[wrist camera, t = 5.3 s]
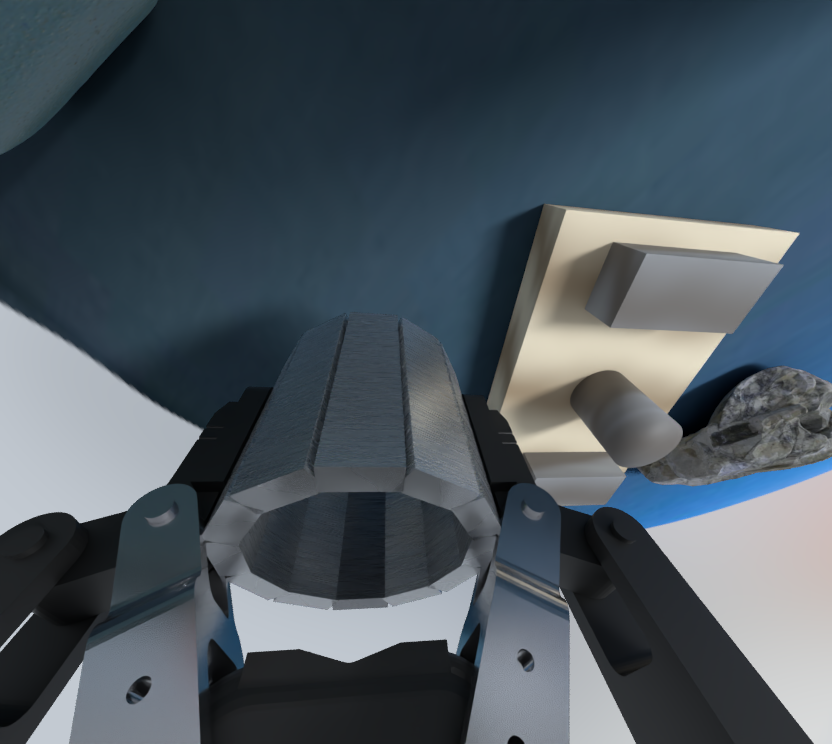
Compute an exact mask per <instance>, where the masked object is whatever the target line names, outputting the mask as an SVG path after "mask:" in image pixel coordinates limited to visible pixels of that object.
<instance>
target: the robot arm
mask: <svg viewBox="0 0 832 744" xmlns="http://www.w3.org/2000/svg"><path fill="white" fill-rule="evenodd" d="M272 390H273V387H248V388H246V390H245V391H244V393H243V395H242V396H241V398H240V400H239V401H238V402H229V403H227V404H226V405H225V406H223V407H222V408H221V409H219V410H218V411H217V412H216V413H215V414H214V415H213V417H212V418H211V420H210V421H209V423H208V424H207V427H206V429H204V430H203V432H202V433H201V435H200V436H199V440H197V441H196V442H195V444H194V446H193V447H192V448H191V450H190V451H189V453H188V454H187V456H186V457H185V459H184V460H183V462H182V463H181V465H180V466H179V468H178V469H177V471H176V473H175V474H174V475H173V477H172V478H171V480H170V481H169V483H168V484H167V485H166V486H162V487H160V488H157V489H155V490H153V491H151V492H149V493H147V494H146V495H144V496H143V497H141V498H140V499H138V500H137V501H136V502H135V503H134V504H133V505H132V506H131V507H130V508H129V510H128V511H125V512H122V513H119V514H114V515H111V516H107V517H103V518H99V519H96V520H92V521H88V522H84V523H79V522H78V521H77V520H76V519H75V518H74V517H73V516H71V515H70V514H67V513H62V512H56V513H48V514H44V515H40V516H37V517H34V518H32V519H29V520H27V521H24V522H22V523H20V524H18V525H16V526H15V527H13V528H11V529H10V530H8V531H7V532H5V533H4V534H2V535H1V536H0V647H1V646H2V645H3V644H4V643H5V642H6V640H7V639H8V638H9V637H10V636H11V635H12V634H13V632H14V631H15V630H16V629H17V628H18V627H19V626H20V625H21V623H22V622H23V621H24V620H25V619H26V618H27V617H28V615H29V614H30V613H31V612H33V613H34V614H33V615H32V617H31V618H30V619H29V620H28V621H27V622H26V623H25V624H24V626H23V627H22V628H21V629H20V630H19V631H18V633H17V634H16V635H15V636H14V637H13V638H12V639H11V641H10V642H9V643H8V644H7V645H6V646H5V647H4V649H3V650H2V651H1V652H0V744H26V742H27V741H28V739H29V738H30V736H31V735H32V733H33V732H34V730H35V729H36V728H37V726H38V725H39V723H40V722H41V720H42V719H43V718H44V716H45V715H46V713H47V712H48V710H49V709H50V707H51V706H52V705H53V703H54V702H55V700H56V699H57V697H58V696H59V694H60V693H61V692H62V690H63V689H64V687H65V686H66V684H67V683H68V681H69V680H70V678H71V677H72V676H73V674H74V673H75V671H76V670H77V668H78V667H79V665H80V664H81V663H82V661H83V665H82V671H81V677H80V683H79V689H78V695H77V700H76V706H75V712H74V718H73V724H72V730H71V736H70V742H69V744H569V661H570V659H569V658H570V655H569V652H570V649H569V648H570V645H569V644H570V643H569V642H570V639H569V638H570V637H569V635H570V633H569V632H570V631H569V630H570V625H569V623H570V620H569V609H568V605H569V607H570V609H571V611H572V613H573V615H574V617H575V619H576V621H577V624H578V625H579V627H580V630H581V631H582V634H583V636H584V638H585V640H586V642H587V644H588V646H589V648H590V650H591V652H592V654H593V656H594V658H595V660H596V662H597V664H598V666H599V668H600V671H601V673H602V675H603V677H604V679H605V681H606V683H607V685H608V687H609V689H610V691H611V693H612V695H613V697H614V699H615V701H616V703H617V705H618V707H619V709H620V711H621V713H622V716H623V717H624V720H625V721H626V724H627V726H628V728H629V730H630V732H631V734H632V736H633V738H634V740H635V742H636V744H814V743H813V742H812V741H811V740H810V738H809V737H808V736H807V735H806V733H805V732H804V731H803V729H802V728H801V727H800V726H799V724H798V723H797V722H796V720H795V719H794V718H793V717H792V715H791V714H790V713H789V712H788V710H787V709H786V708H785V707H784V705H783V704H782V703H781V701H780V700H779V699H778V698H777V696H776V695H775V694H774V693H773V691H772V690H771V689H770V688H769V686H768V685H767V684H766V682H765V681H764V680H763V679H762V677H761V676H760V675H759V673H758V672H757V671H756V670H755V668H754V667H753V666H752V665H751V663H750V662H749V661H748V660H747V658H746V657H745V656H744V654H743V653H742V652H741V651H740V649H739V648H738V647H737V646H736V644H735V643H734V642H733V640H732V639H731V638H730V637H729V635H728V634H727V633H726V632H725V630H724V629H723V628H722V626H721V625H720V624H719V623H718V621H717V620H716V619H715V618H714V616H713V615H712V614H711V613H710V612H709V610H708V609H707V607H706V606H705V605H704V604H703V602H702V601H701V600H700V599H699V597H698V596H697V595H696V594H695V592H694V591H693V590H692V588H691V587H690V586H689V585H688V583H687V582H686V581H685V579H684V578H683V577H682V576H681V574H680V573H679V572H678V571H677V569H676V568H675V567H674V565H673V564H672V563H671V562H670V561H669V559H668V558H667V557H666V555H665V554H664V553H663V552H662V551H661V549H660V548H659V546H658V545H657V544H656V543H655V541H654V540H653V539H652V538H651V536H650V535H649V534H648V532H647V531H646V530H645V529H644V528H643V526H642V525H641V524H640V523H639V522H638V521H637V520H635V519H634V518H633V517H632V516H630V515H629V514H627V513H625V512H623V511H621V510H619V509H616V508H612V507H603V508H600V509H598V510H597V511H596V512H595V513H594V514H593V515H592V516H591V515H588V514H584V513H581V512H578V511H574V510H571V509H568V508H565V507H562V506H560V505H558V504H557V503H556V501H555V500H554V498H553V497H552V496H551V495H550V494H549V493H548V492H546V491H545V490H544V489H542V488H541V487H538V486H537V485H536V483H535V481H534V479H533V477H532V475H531V473H530V470H529V468H528V466H527V464H526V461H525V459H524V457H523V455H522V452H521V450H520V448H519V446H518V445H517V441H516V439H515V437H514V435H513V434H512V430H511V428H510V426H509V423H508V421H507V420H506V419H505V418H504V417H503V416H502V415H501V414H500V413H499V412H498V410H489V408H488V406H487V403H486V400H485V398H484V396H483V395H464V394H462V397H463V401H464V404H465V407H466V410H467V414H468V417H469V420H470V423H471V427H472V430H473V433H474V436H475V440H476V443H477V446H478V450H479V453H480V456H481V459H482V463H483V466H484V469H485V472H486V476H487V479H488V482H489V485H490V488H491V492H492V495H493V498H494V502H495V505H496V508H497V511H498V515H499V518H500V521H501V528H500V530H499V532H498V534H497V535H496V540H495V545H494V550H493V555H492V559H491V561H490V563H489V565H488V566H484V567H480V570H479V572H478V574H477V578H476V582H475V586H474V590H473V595H472V599H471V603H470V607H469V611H468V614H467V617H466V620H465V623H464V626H463V629H462V633H461V636H460V640H459V644H458V648H457V652H456V654H453V653H449V652H448V647H447V640H435V641H434V640H433V641H418V642H404V643H399V644H396V645H394V646H391V647H389V648H387V649H384V650H382V651H380V652H378V653H375V654H372V655H370V656H367V657H365V658H363V659H360V660H358V661H355V662H352V663H345V662H341V661H338V660H334V659H331V658H328V657H324V656H321V655H317V654H314V653H311V652H307V651H303V650H300V649H296V650H281V651H266V652H250V653H247V657H246V660H245V664H244V660H243V653H242V648H241V644H240V640H239V636H238V633H237V630H236V626H235V621H234V614H233V606H232V598H231V590H230V582H228V580H227V578H226V576H219V575H218V573H217V571H216V570H215V568H214V566H213V565H212V563H211V561H210V560H209V558H208V556H207V549H206V540H204V539H203V537H202V533H203V531H204V529H205V527H206V524H207V522H208V520H209V518H210V516H211V514H212V512H213V510H214V508H215V506H216V504H217V502H218V500H219V498H220V496H221V494H222V492H223V490H224V488H225V486H226V484H227V482H228V480H229V478H230V476H231V473H232V471H233V469H234V467H235V465H236V463H237V461H238V459H239V457H240V455H241V453H242V451H243V449H244V447H245V445H246V443H247V441H248V439H249V437H250V435H251V433H252V431H253V428H254V426H255V424H256V422H257V420H258V418H259V416H260V414H261V412H262V410H263V408H264V406H265V404H266V402H267V400H268V398H269V396H270V394H271V392H272ZM559 587H560V589H561V591H562V593H563V595H564V597H565V599H566V600H565V599H563V598H561V596H560V592H559ZM566 601H567V602H566ZM567 603H568V605H567Z"/></svg>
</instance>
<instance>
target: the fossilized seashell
mask: <svg viewBox="0 0 832 744" xmlns="http://www.w3.org/2000/svg"><path fill="white" fill-rule="evenodd" d="M831 406H832V384H831V383H829V382H828V381H825V380H822V379H820V378H818V377H816V376H814V375H812V374H810V373H808V372H806V371H803V370H799V369H793V368H790V367H787V366H778V367H772V368H767V369H765V370H763V371H760V372H758V373H756V374H753V375H751V376H749V377H748V378H746V379H745V380H743V381H742V382H740V383H739V384H738V385H736V386H735V387H734V388H733V389H732V390H731V391H730V392H729V393H728V394H727V395H726V396H725V397H724V398H723V400H722V401H721V402H720V404H719V405H718V406H717V408H716V409H715V411H714V413H713V415H712V416H711V418H710V421H709V423H708V425H707V427H706V428H702V429H700V430H699V431H698V432H696V433H694V434H689V436H687V437H684V438H681V440H680V442H679V443H678V445H677V446H676V447H675V448H674V449H673V450H672V451H671V452H670V453H669V454H667V455H666V456H664V457H663V458H661V459H659V460H657V461H655V462H653V463H651V464H648V465H645V466H641V467H636V468H637V469H638V470H639V471H640V472H641V473H642V474H643V475H644V476H645V477H646V478H647V479H649V480H650V481H651V482H653V483H657V484H661V485H668V484H670V485H674V484H682V485H689V486H697V485H707V484H712V483H716V482H720V481H725V480H729V479H736V478H740V477H743V476H747V475H751V474H754V473H757V472H767V471H776V470H784V469H791V468H795V467H800V466H804V465H808V464H814V463H816V462H819V461H823V460H826V459H828V458H830V457H832V411H831V410H830V409H829V408H830V407H831Z"/></svg>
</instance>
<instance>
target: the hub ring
mask: <svg viewBox="0 0 832 744" xmlns="http://www.w3.org/2000/svg"><path fill="white" fill-rule="evenodd" d="M500 528H501V521H500V518H499V515H498V511H497V508H496V505H495V502H494V498H493V495H492V492H491V488H490V485H489V482H488V479H487V476H486V472H485V469H484V466H483V463H482V459H481V456H480V453H479V450H478V446H477V443H476V440H475V436H474V433H473V430H472V427H471V423H470V420H469V417H468V414H467V410H466V407H465V404H464V401H463V397H462V394H461V391H460V387H459V384H458V381H457V378H456V374H455V372H454V370H453V368H452V365H451V363H450V361H449V359H448V357H447V355H446V352H445V350H444V348H443V346H442V344H441V342H440V343H439V341H438V339H437V338H436V337H434V336H432V335H431V334H429V333H428V332H426V331H424V330H423V329H421V328H420V327H418V326H416V325H415V324H413V323H412V322H410V321H408V320H407V319H405V318H403V317H401V319H400V320H399V321H398V317H397V315H387V314H372V313H356V312H350V315H349V318H348V316H347V315H346V313H344V314H342V315H340V316H338V317H336V318H333V319H331V320H329V321H327V322H325V323H323V324H321V325H318V326H316V327H314V328H312V329H310V330H308V331H306V332H305V334H304V335H302V336H301V337H300V339H299V341H298V343H297V344H296V346H295V348H294V350H293V351H292V353H291V355H290V357H289V358H288V360H287V362H286V363H285V365H284V367H283V369H282V371H281V373H280V375H279V377H278V379H277V381H276V383H275V385H274V388H273V390H272V392H271V394H270V396H269V398H268V400H267V402H266V404H265V406H264V408H263V410H262V412H261V414H260V416H259V418H258V420H257V422H256V424H255V426H254V428H253V431H252V433H251V435H250V437H249V439H248V441H247V443H246V445H245V447H244V449H243V451H242V453H241V455H240V457H239V459H238V461H237V463H236V465H235V467H234V469H233V471H232V473H231V476H230V478H229V480H228V482H227V484H226V486H225V488H224V490H223V492H222V494H221V496H220V498H219V500H218V502H217V504H216V506H215V508H214V510H213V512H212V514H211V516H210V518H209V520H208V522H207V524H206V527H205V529H204V531H203V533H202V537H203V539H204V540H206V549H207V556H208V558H209V560H210V561H211V563H212V565H213V566H214V568H215V570H216V571H217V573H218V575H219V576H226V578H227V580H228V582H230V583H233V584H235V585H237V586H239V587H241V588H243V589H245V590H248V591H250V592H252V593H254V594H256V595H258V596H260V597H263V598H265V599H267V600H270V599H273V598H274V602H280V603H286V604H293V605H300V606H306V607H313V608H319V609H326V610H327V609H329V608H330V607H331V606H333V610H342V609H362V608H382V607H387V606H388V603H389V604H390V605H392V606H397V605H400V604H404V603H408V602H412V601H416V600H420V599H423V598H427V597H431V596H435V595H439V594H442V591H445V592H447V591H449V590H451V589H453V588H454V587H456V586H457V585H459V584H461V583H463V582H464V581H466V580H467V579H469V578H471V577H473V576H474V575H476V574H478V572H479V570H480V567H484V566H488V565H489V563H490V561H491V559H492V555H493V550H494V545H495V540H496V535H497V534H498V532H499V530H500Z"/></svg>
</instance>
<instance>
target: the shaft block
mask: <svg viewBox="0 0 832 744" xmlns="http://www.w3.org/2000/svg"><path fill="white" fill-rule="evenodd" d="M798 235H799V233H796V232H790V231H784V230H778V229H772V228H766V227H760V226H754V225H745V224H735V223H725V222H716V221H706V220H696V219H686V218H676V217H667V216H657V215H647V214H637V213H628V212H618V211H608V210H598V209H588V208H579V207H569V206H559V205H549V204H544V206H543V210H542V213H541V217H540V220H539V224H538V227H537V231H536V234H535V237H534V241H533V244H532V248H531V251H530V255H529V258H528V262H527V265H526V269H525V272H524V276H523V279H522V283H521V286H520V290H519V293H518V297H517V300H516V304H515V307H514V310H513V314H512V317H511V321H510V324H509V328H508V331H507V335H506V338H505V342H504V345H503V349H502V352H501V356H500V359H499V363H498V366H497V370H496V373H495V376H494V380H493V383H492V387H491V390H490V394H489V397H488V401H487V406H488V408H489V410H498V412H499V413H500V414H501V415H502V416H503V417H504V418H505V419H506V420H507V421H508V423H509V426H510V428H511V430H512V434H513V435H514V437H515V439H516V441H517V445H518V446H519V448H520V450H521V452H522V455H523V457H524V459H525V461H526V464H527V466H528V468H529V470H530V473H531V475H532V477H533V479H534V481H535V483H536V485H537V486H538V487H541V488H542V489H544V490H545V491H546V492H548V493H549V494H550V495H551V496H552V497H553V498H554V500H555V501H556V503H557V504H558V505H560V506H573V505H603V504H606V503H607V502H608V500H609V499H610V498H611V496H612V495H613V494H614V492H615V491H616V490H617V488H618V487H619V486H620V484H621V483H622V481H623V480H624V479H625V477H626V475H625V474H624V472H625V471H626V470H627V468H635V467H641V466H645V465H648V464H651V463H653V462H655V461H657V460H659V459H661V458H663V457H664V456H666V455H667V454H669V453H670V452H671V451H672V450H673V449H674V448H675V447H676V446H677V445H678V443H679V442H680V440H681V438H682V435H683V430H682V427H681V426H680V425H679V424H678V423H677V422H676V421H675V420H673V419H672V418H671V417H670V416H669V415H668V412H669V411H670V410H671V408H672V407H673V406H674V404H675V403H676V401H677V400H678V399H679V397H680V396H681V395H682V393H683V392H684V391H685V389H686V388H687V386H688V385H689V384H690V382H691V381H692V380H693V378H694V377H695V375H696V374H697V373H698V371H699V370H700V369H701V367H702V366H703V365H704V363H705V362H706V360H707V359H708V358H709V356H710V355H711V354H712V352H713V351H714V350H715V348H716V347H717V345H718V344H719V343H720V341H721V340H722V339H723V337H724V336H725V334H726V333H730V334H733V332H734V331H735V330H736V328H737V327H738V326H739V324H740V323H741V322H742V320H743V319H744V318H745V316H746V315H747V314H748V312H749V311H750V310H751V308H752V307H753V306H754V304H755V303H756V302H757V300H758V299H759V298H760V296H761V295H762V294H763V292H764V291H765V290H766V288H767V287H768V286H769V284H770V283H771V281H772V280H773V279H774V277H775V276H776V275H777V273H778V272H779V271H780V269H781V268H782V267H783V265H782V264H778V262H779V261H780V259H781V258H782V257H783V255H784V254H785V252H786V251H787V250H788V248H789V247H790V246H791V244H792V243H793V242H794V240H795V239H796V237H797V236H798Z"/></svg>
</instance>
